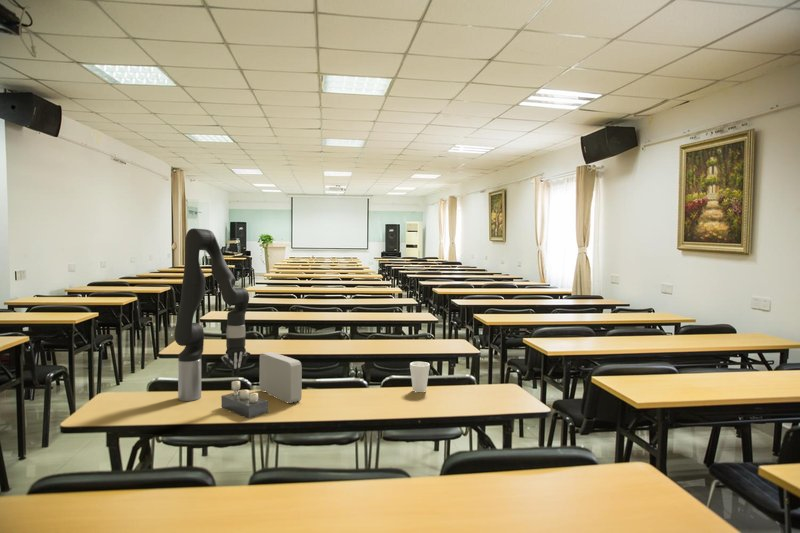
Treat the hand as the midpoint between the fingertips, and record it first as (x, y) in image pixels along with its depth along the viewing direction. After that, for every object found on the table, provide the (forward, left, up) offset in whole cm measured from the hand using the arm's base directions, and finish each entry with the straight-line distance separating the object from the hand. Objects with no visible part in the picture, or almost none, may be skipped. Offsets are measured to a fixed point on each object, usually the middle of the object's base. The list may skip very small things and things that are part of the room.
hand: (235, 376), depth 194 cm
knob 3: (+13, 0, -12) cm, 18 cm away
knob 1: (0, 0, -10) cm, 10 cm away
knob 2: (+7, 0, -12) cm, 14 cm away
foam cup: (+45, +70, -13) cm, 84 cm away
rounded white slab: (+2, +21, -13) cm, 25 cm away
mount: (+7, 0, -13) cm, 14 cm away
